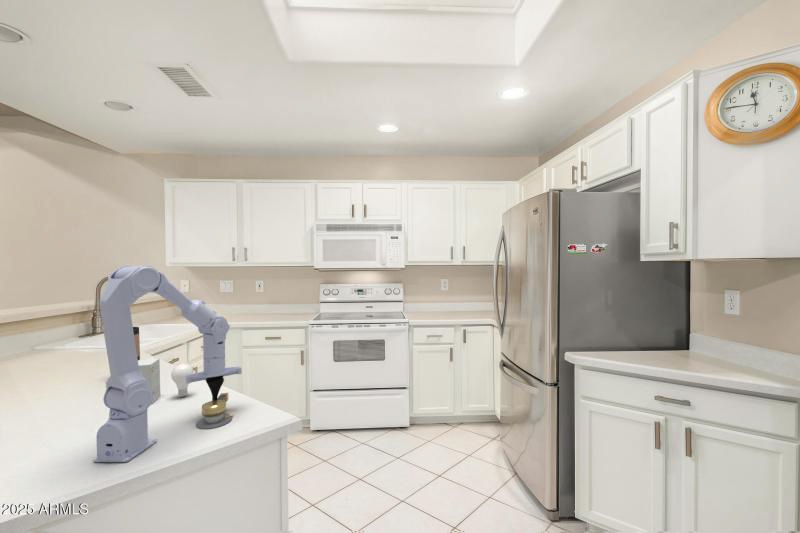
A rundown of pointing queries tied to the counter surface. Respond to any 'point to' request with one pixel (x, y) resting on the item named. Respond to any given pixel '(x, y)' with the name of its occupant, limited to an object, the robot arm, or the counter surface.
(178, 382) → the lightbulb
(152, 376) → the small box
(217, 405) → the collar
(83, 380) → the counter surface
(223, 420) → the post base
